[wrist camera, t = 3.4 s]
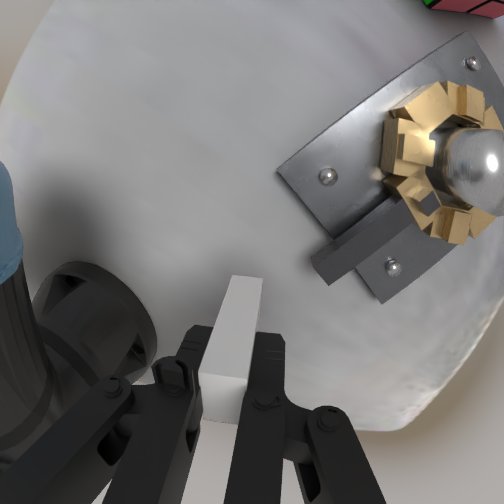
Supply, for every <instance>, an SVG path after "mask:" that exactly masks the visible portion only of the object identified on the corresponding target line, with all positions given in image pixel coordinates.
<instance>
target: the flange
mask: <svg viewBox="0 0 504 504" xmlns="http://www.w3.org/2000/svg"><path fill="white" fill-rule="evenodd" d="M444 81H450V82H452V83H455V84H457V85H459V86H461V85H466V84H467V85H469V86H471V87H473V88H475V89H477V90H479V91H481V92H483V97H485V106H488V105H492V107H493V109H494V111H495V113H496V115H497V117H498V119H499V121H500V123H501V125H502V127H503V130H504V87H503V85H502V83H501V81H500V79H499V78H498V76H497V74H496V72H495V71H494V69H493V67H492V66H491V64H490V62H489V61H488V59H487V57H486V56H485V54H484V53H483V51H482V50H481V48H480V47H479V45H478V44H477V42H476V41H475V39H474V38H473V36H472V35H471V34H470V32H469V31H466V32H464V33H461V34H459V35H458V36H456V37H455V38H453V39H451V40H450V41H448V42H447V43H445V44H444V45H442V46H441V47H439V48H437V49H436V50H434V51H433V52H431V53H430V54H428V55H427V56H425V57H424V58H422V59H421V60H419V61H418V62H417V63H415V64H414V65H412V66H411V67H409V68H408V69H406V70H405V71H404V72H402V73H401V74H399V75H398V76H396V77H395V78H394V79H392V80H391V81H389V82H388V83H387V84H385V85H384V86H382V87H381V88H380V89H378V90H377V91H376V92H374V93H373V94H371V95H370V96H369V97H367V98H366V99H365V100H363V101H362V102H361V103H359V104H358V105H357V106H355V107H354V108H353V109H351V110H350V111H349V112H347V113H346V114H345V115H343V116H342V117H341V118H340V119H338V120H337V121H336V122H334V123H333V124H332V125H331V126H329V127H328V128H327V129H325V130H324V131H323V132H322V133H320V134H319V135H318V136H317V137H315V138H314V139H313V140H311V141H310V142H309V143H308V144H306V145H305V146H304V147H303V148H302V149H300V150H299V151H298V152H297V153H295V154H294V155H293V156H292V157H290V158H289V159H288V160H287V161H286V162H284V163H283V164H282V165H281V166H280V167H278V168H277V171H278V172H279V173H280V175H281V176H282V177H283V178H284V179H285V180H286V182H287V183H288V184H289V185H290V186H291V187H292V189H293V190H294V191H295V192H296V193H297V194H298V196H299V197H300V198H301V199H302V200H303V202H304V203H305V204H306V205H307V206H308V208H309V209H310V210H311V211H312V213H313V214H314V215H315V216H316V218H317V219H318V220H319V221H320V223H321V224H322V225H323V226H324V228H325V229H326V230H327V231H328V233H329V234H330V235H331V236H332V238H333V239H334V240H335V239H337V238H338V237H339V236H341V235H342V234H343V233H344V232H346V231H347V230H348V229H350V228H351V227H352V226H354V225H355V224H356V223H357V222H359V221H360V220H361V219H363V218H364V217H365V216H366V215H368V214H369V213H370V212H371V211H373V210H374V209H375V208H376V207H378V206H379V205H380V204H381V203H383V202H384V201H385V200H386V199H388V198H389V197H390V196H391V195H392V194H391V193H390V191H389V190H388V188H387V187H386V185H385V184H384V182H383V181H384V180H385V179H386V178H387V177H389V176H390V175H391V174H392V173H390V172H387V171H384V170H381V169H380V164H381V156H382V146H383V135H384V122H385V120H387V119H394V118H395V117H394V115H393V114H392V112H391V111H390V109H392V108H393V107H394V106H396V105H397V104H398V103H400V102H401V101H402V100H404V99H405V98H406V97H408V96H409V95H410V94H412V93H413V92H414V91H416V90H417V89H418V88H420V87H421V86H424V85H427V84H431V83H434V82H439V83H440V82H444ZM429 140H431V141H435V150H434V159H433V167H431V166H427V165H426V168H425V174H426V176H427V178H428V179H429V181H430V183H431V185H432V187H433V189H434V190H435V192H436V194H437V196H438V198H439V200H442V201H446V202H452V201H454V200H455V199H456V198H457V199H459V200H461V201H464V202H466V203H468V204H470V205H472V206H474V207H476V208H478V209H480V210H482V211H485V212H487V213H489V214H491V215H493V216H502V215H504V131H502V130H497V129H482V128H463V127H462V126H461V124H459V123H456V122H453V121H451V120H448V119H446V120H445V121H444V122H442V123H441V124H440V125H439V126H437V127H436V128H435V129H434V130H433V131H431V132H430V133H429ZM457 245H458V244H454V243H448V242H446V241H445V240H444V239H442V238H436V237H430V236H428V235H427V234H426V233H425V232H423V231H422V230H420V229H419V228H418V227H416V226H415V225H414V224H412V223H411V224H410V225H409V226H407V227H406V228H405V229H404V230H402V231H401V232H400V233H399V234H397V235H396V236H395V237H394V238H392V239H391V240H390V241H389V242H387V243H386V244H385V245H383V246H382V247H381V248H380V249H378V250H377V251H376V252H374V253H373V254H372V255H370V256H369V257H368V258H366V259H365V260H364V261H362V262H361V263H360V264H358V265H357V266H356V267H355V268H356V269H357V271H358V272H359V273H360V275H361V276H362V278H363V279H364V280H365V282H366V283H367V284H368V286H369V287H370V289H371V290H372V291H373V293H374V294H375V296H376V297H377V299H378V300H379V301H380V303H381V304H383V303H385V302H386V301H388V300H389V299H390V298H392V297H393V296H394V295H396V294H397V293H399V292H400V291H401V290H403V289H404V288H405V287H407V286H408V285H409V284H410V283H412V282H413V281H414V280H416V279H417V278H418V277H419V276H421V275H422V274H423V273H425V272H426V271H427V270H428V269H430V268H431V267H432V266H433V265H434V264H436V263H437V262H438V261H439V260H440V259H442V258H443V257H444V256H445V255H446V254H447V253H449V252H450V251H451V250H452V249H453V248H454V247H456V246H457Z"/></svg>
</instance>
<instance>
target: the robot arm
mask: <svg viewBox="0 0 504 504" xmlns="http://www.w3.org/2000/svg"><path fill="white" fill-rule="evenodd" d="M22 254H23V242H22V237H21V233H20V231H19V228H18V227H17V222H16V215H15V207H14V198H13V186H12V181H11V178H10V175H9V172H8V170H7V169H6V167H5V165H4V164H3V163H2V162H1V161H0V504H91V503H92V502H93V501H94V500H95V499H96V497H97V496H98V495H99V494H100V493H101V491H102V490H103V489H104V488H105V486H106V485H107V484H108V483H109V482H110V480H111V479H112V481H111V483H110V486H109V488H108V490H107V493H106V495H105V497H104V500H103V502H102V504H181V500H182V496H183V492H184V489H185V485H186V481H187V478H188V474H189V471H190V467H191V463H192V460H193V456H194V453H195V449H196V445H197V441H198V438H199V434H200V420H201V417H202V413H203V419H205V420H211V421H216V422H222V423H229V424H237V425H238V429H237V434H236V440H235V446H234V451H233V456H232V462H231V467H230V472H229V478H228V483H227V489H226V493H225V499H224V504H280V498H281V484H282V470H283V458H284V459H287V460H290V461H293V463H294V466H295V470H296V474H297V477H298V481H299V485H300V489H301V492H302V496H303V500H304V503H305V504H386V501H385V499H384V497H383V494H382V492H381V490H380V487H379V485H378V483H377V481H376V478H375V476H374V474H373V471H372V469H371V467H370V465H369V462H368V460H367V458H366V456H365V453H364V451H363V449H362V446H361V444H360V442H359V440H358V438H357V435H356V433H355V431H354V429H353V426H352V424H351V422H350V420H349V418H348V416H347V415H346V414H345V412H344V411H342V410H341V409H339V408H337V407H333V406H321V407H318V408H315V409H314V410H313V411H311V410H308V409H305V408H302V407H299V406H297V405H295V404H293V403H292V402H291V401H290V400H289V399H288V398H287V396H286V394H285V391H284V376H285V341H284V340H283V338H282V336H281V334H275V333H265V332H258V328H259V319H260V308H261V296H262V285H263V278H258V277H247V276H237V275H232V278H231V281H230V283H229V286H228V289H227V292H226V295H225V297H224V300H223V303H222V306H221V308H220V311H219V314H218V317H217V320H216V322H215V325H214V327H207V326H200V325H194V326H193V327H192V328H191V329H189V330H188V331H187V333H186V335H185V337H184V339H183V342H182V343H181V345H180V348H179V350H178V352H177V354H176V356H168V357H163V358H161V359H159V360H157V361H155V363H154V364H153V365H152V366H151V368H152V372H153V376H154V380H155V383H154V384H149V385H132V384H133V383H134V382H135V381H137V380H138V379H139V378H140V377H142V376H143V374H144V373H145V372H146V371H147V369H148V367H149V365H150V363H151V361H152V360H153V358H154V355H155V352H156V346H157V344H156V334H155V330H154V327H153V324H152V322H151V319H150V317H149V315H148V314H147V312H146V310H145V308H144V307H143V305H142V304H141V302H140V301H139V300H138V299H137V297H136V296H135V295H134V294H133V293H132V292H131V290H130V289H129V288H128V287H127V286H126V285H125V284H123V283H122V282H121V281H120V280H119V279H117V278H116V277H115V276H113V275H112V274H110V273H109V272H107V271H106V270H104V269H102V268H100V267H98V266H95V265H92V264H89V263H85V262H70V263H66V264H64V265H62V266H61V267H59V268H58V269H56V270H55V271H54V272H52V273H51V274H50V275H49V276H48V277H47V278H46V279H45V280H44V282H43V283H42V285H41V287H40V289H39V290H38V292H37V294H36V296H35V298H34V299H33V301H32V303H31V300H30V296H29V291H28V287H27V282H26V277H25V272H24V267H23V261H22Z"/></svg>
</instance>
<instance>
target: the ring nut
mask: <svg viewBox="0 0 504 504" xmlns="http://www.w3.org/2000/svg"><path fill="white" fill-rule="evenodd" d="M390 111H391V112H392V114H393V115H394V117H395V118H394V119H387V120H385V122H384V135H383V146H382V156H381V164H380V169H381V170H384V171H387V172H390V173H392V174H391V175H390V176H389V177H387V178H386V179H385V180H384V181H383V182H384V184H385V185H386V187H387V188H388V190H389V191H390V193H391V194H392V195H391V196H390V197H389V198H388V199H386V200H385V201H384V202H383V203H381V204H380V205H379V206H378V207H376V208H375V209H374V210H373V211H371V212H370V213H369V214H368V215H366V216H365V217H364V218H363V219H361V220H360V221H359V222H357V223H356V224H355V225H354V226H352V227H351V228H350V229H348V230H347V231H346V232H344V233H343V234H342V235H341V236H339V237H338V238H337V239H335V240H334V241H333V242H331V243H330V244H329V245H327V246H326V247H325V248H323V249H322V250H321V251H319V252H318V253H317V254H315V255H314V256H313V257H311V260H312V264H313V268H314V269H315V270H316V271H317V273H318V274H319V275H320V276H321V277H322V279H323V280H324V281H325V282H326V283H327V285H328V286H329V285H331V284H332V283H334V282H335V281H336V280H338V279H339V278H341V277H342V276H343V275H345V274H346V273H347V272H349V271H350V270H352V269H353V268H354V267H356V266H357V265H358V264H360V263H361V262H362V261H364V260H365V259H366V258H368V257H369V256H370V255H372V254H373V253H374V252H376V251H377V250H378V249H380V248H381V247H382V246H383V245H385V244H386V243H387V242H389V241H390V240H391V239H392V238H394V237H395V236H396V235H397V234H399V233H400V232H401V231H402V230H404V229H405V228H406V227H407V226H409V225H410V224H411V223H412V224H414V225H415V226H416V227H418V228H419V229H420V230H422V231H423V232H425V233H426V234H427V235H428V236H430V237H436V238H442V239H444V240H445V241H446V242H448V243H454V244H460V245H464V243H465V242H466V240H467V237H468V235H469V236H471V237H472V238H474V239H475V238H476V237H477V236H478V235H479V234H480V233H481V232H482V231H483V230H484V229H485V228H486V227H487V226H488V225H489V224H490V223H491V222H492V221H493V220H494V219H495V218H496V217H497V216H493V215H491V214H489V213H487V212H485V211H482V210H480V209H478V208H476V207H474V206H472V205H470V204H468V203H466V202H464V201H461V200H459V199H457V198H456V199H455V200H454V201H452V202H446V201H442V200H439V198H438V196H437V194H436V192H435V190H434V189H433V187H432V185H431V183H430V181H429V179H428V178H427V176H426V174H425V168H426V165H427V166H431V167H433V159H434V150H435V141H431V140H429V133H430V132H431V131H433V130H434V129H435V128H436V127H437V126H439V125H440V124H441V123H442V122H444V121H445V120H446V119H448V120H451V121H453V122H456V123H459V124H461V126H462V127H463V128H482V129H497V130H502V131H504V130H503V127H502V125H501V123H500V121H499V119H498V117H497V115H496V113H495V111H494V109H493V107H492V105H488V106H485V97H483V92H481V91H479V90H477V89H475V88H473V87H471V86H469V85H467V84H466V85H461V86H459V85H457V84H455V83H452V82H450V81H444V82H440V83H439V82H434V83H431V84H427V85H424V86H421V87H420V88H418V89H417V90H416V91H414V92H413V93H412V94H410V95H409V96H408V97H406V98H405V99H404V100H402V101H401V102H400V103H398V104H397V105H396V106H394V107H393V108H392V109H390Z"/></svg>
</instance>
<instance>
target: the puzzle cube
mask: <svg viewBox="0 0 504 504" xmlns="http://www.w3.org/2000/svg"><path fill="white" fill-rule="evenodd" d="M424 2H425V4H426V6H427V7H428V8H430V9H440V10H449V11H457V12H467V13H470V14H476V15H481V16H486V17H491V18H497V17H500V16H502V15H504V0H424Z"/></svg>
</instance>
